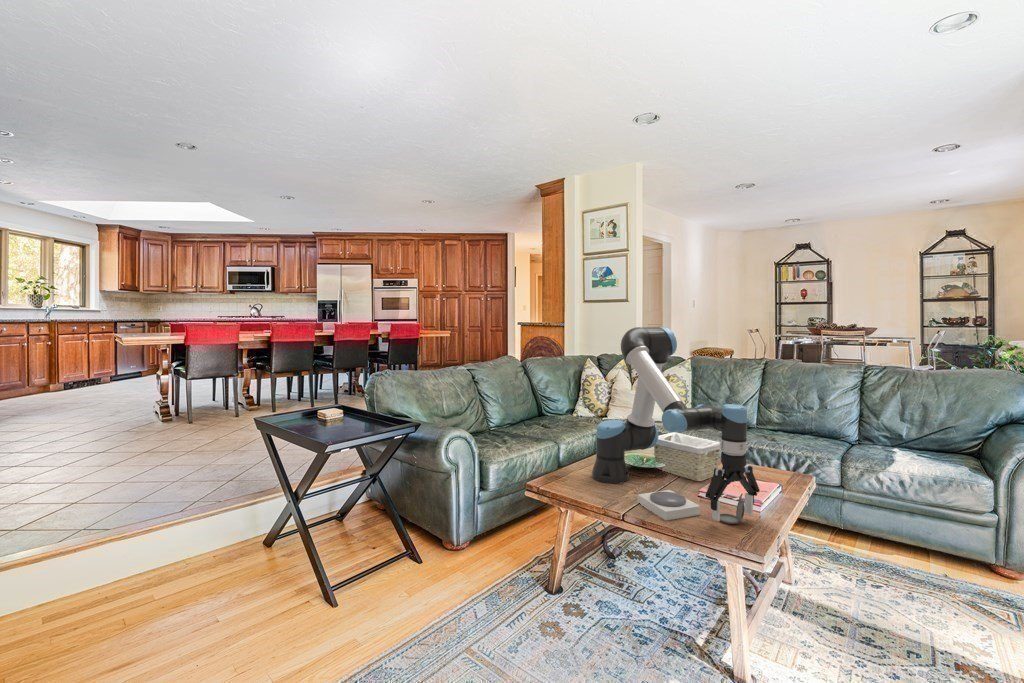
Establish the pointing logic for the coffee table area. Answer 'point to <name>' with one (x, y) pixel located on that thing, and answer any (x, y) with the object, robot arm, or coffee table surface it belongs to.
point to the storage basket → (687, 455)
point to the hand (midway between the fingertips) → (732, 516)
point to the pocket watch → (731, 518)
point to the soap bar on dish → (668, 505)
